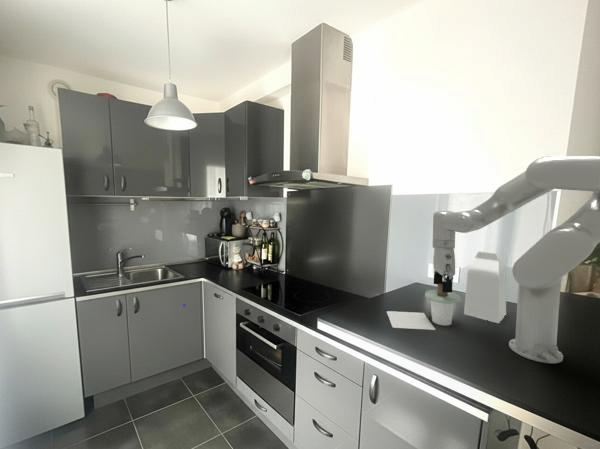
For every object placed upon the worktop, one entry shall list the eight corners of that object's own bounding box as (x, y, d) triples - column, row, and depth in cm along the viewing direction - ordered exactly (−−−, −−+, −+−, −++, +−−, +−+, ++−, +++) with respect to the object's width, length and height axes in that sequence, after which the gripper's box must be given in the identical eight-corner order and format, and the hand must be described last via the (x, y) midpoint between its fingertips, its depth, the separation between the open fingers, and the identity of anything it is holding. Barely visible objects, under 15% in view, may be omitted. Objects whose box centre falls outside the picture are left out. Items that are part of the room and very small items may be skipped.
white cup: (447, 318, 108) (448, 294, 107) (457, 327, 101) (457, 301, 100) (427, 318, 109) (427, 294, 108) (434, 327, 101) (435, 301, 100)
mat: (435, 331, 98) (435, 329, 98) (392, 328, 101) (392, 327, 101) (423, 313, 113) (423, 312, 113) (386, 312, 115) (386, 311, 115)
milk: (463, 314, 112) (465, 252, 110) (472, 306, 120) (474, 248, 117) (498, 323, 103) (501, 256, 101) (506, 314, 111) (509, 252, 108)
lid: (466, 304, 97) (466, 290, 97) (430, 303, 99) (431, 289, 99) (452, 292, 109) (453, 280, 109) (421, 292, 111) (421, 280, 110)
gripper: (464, 247, 93) (462, 296, 95) (445, 240, 110) (444, 281, 112) (441, 247, 94) (439, 295, 96) (426, 240, 111) (425, 281, 113)
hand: (442, 287), depth 104 cm, fingers open, 9 cm apart
